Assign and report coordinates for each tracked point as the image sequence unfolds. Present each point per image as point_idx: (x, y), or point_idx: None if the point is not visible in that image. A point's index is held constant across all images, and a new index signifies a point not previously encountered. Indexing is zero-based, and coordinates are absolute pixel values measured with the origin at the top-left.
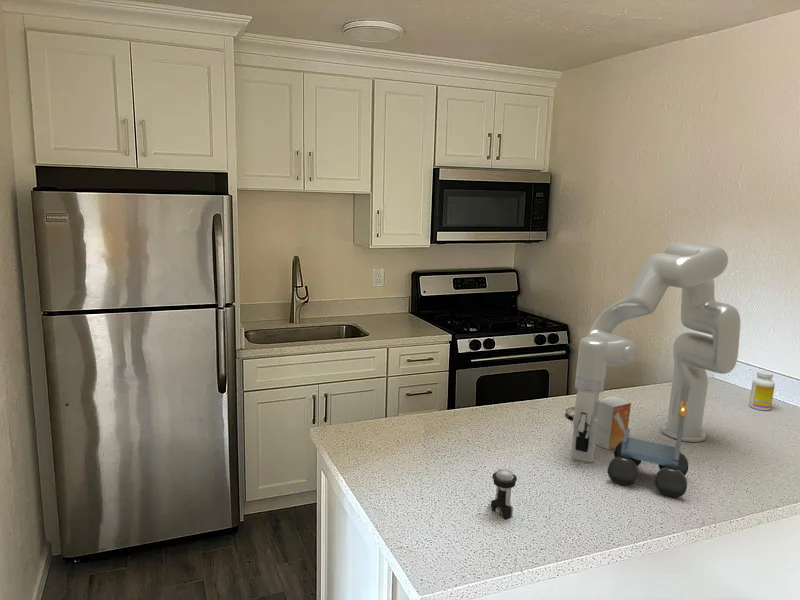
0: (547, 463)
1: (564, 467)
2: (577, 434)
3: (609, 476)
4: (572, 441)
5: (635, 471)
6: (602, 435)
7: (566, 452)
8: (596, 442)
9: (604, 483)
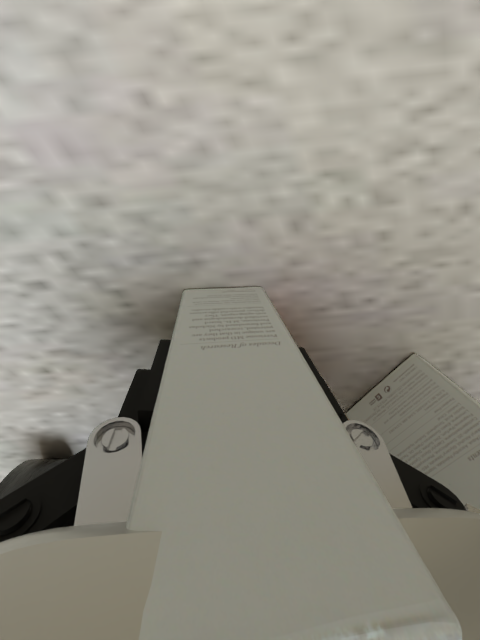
0: (28, 152)
1: (51, 266)
2: (89, 445)
3: (17, 467)
4: (172, 338)
5: None
6: (405, 431)
7: (260, 257)
8: (397, 377)
9: (21, 430)
